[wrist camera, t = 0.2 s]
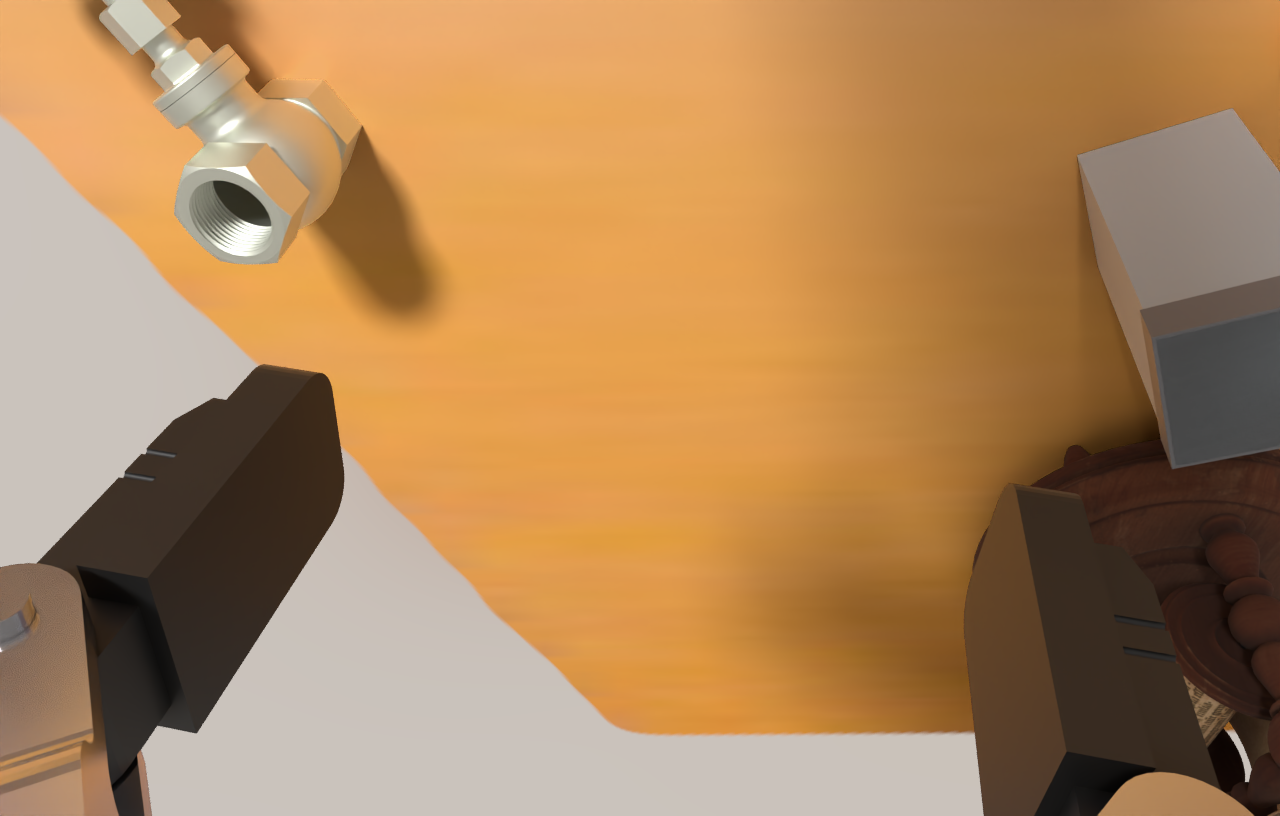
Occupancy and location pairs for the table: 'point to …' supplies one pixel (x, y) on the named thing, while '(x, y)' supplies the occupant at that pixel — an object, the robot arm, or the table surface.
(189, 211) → the valve
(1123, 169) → the grey-topped square post
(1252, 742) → the scroll
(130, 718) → the robot arm
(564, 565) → the table surface
